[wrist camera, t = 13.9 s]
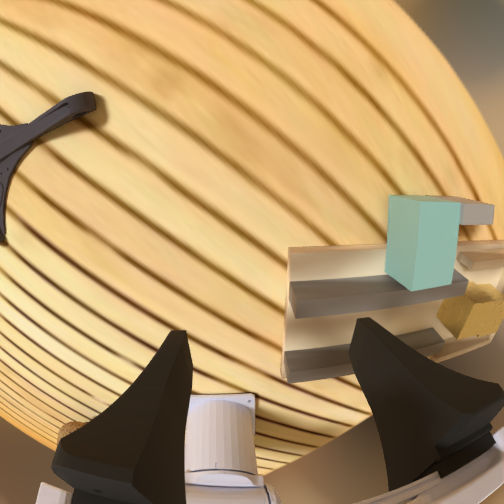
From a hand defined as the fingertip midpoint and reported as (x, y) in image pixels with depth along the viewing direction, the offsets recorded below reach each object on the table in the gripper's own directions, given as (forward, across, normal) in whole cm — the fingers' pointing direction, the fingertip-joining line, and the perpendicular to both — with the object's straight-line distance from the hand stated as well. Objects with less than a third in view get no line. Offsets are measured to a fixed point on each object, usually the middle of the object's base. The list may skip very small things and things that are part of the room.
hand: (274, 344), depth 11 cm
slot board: (+10, -16, +6) cm, 20 cm away
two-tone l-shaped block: (+8, -14, -5) cm, 17 cm away
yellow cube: (+9, -25, +7) cm, 27 cm away
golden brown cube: (+9, -21, +6) cm, 23 cm away
